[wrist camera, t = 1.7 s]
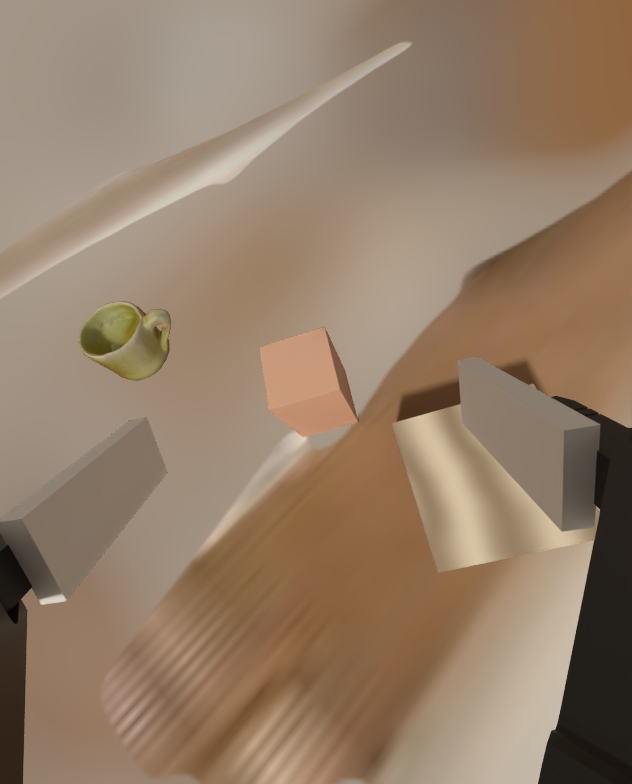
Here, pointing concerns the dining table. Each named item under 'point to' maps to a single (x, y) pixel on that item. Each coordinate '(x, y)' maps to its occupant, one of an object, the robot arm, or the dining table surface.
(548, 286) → the dining table surface
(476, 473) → the ash block
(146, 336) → the mug
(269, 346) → the terracotta block
